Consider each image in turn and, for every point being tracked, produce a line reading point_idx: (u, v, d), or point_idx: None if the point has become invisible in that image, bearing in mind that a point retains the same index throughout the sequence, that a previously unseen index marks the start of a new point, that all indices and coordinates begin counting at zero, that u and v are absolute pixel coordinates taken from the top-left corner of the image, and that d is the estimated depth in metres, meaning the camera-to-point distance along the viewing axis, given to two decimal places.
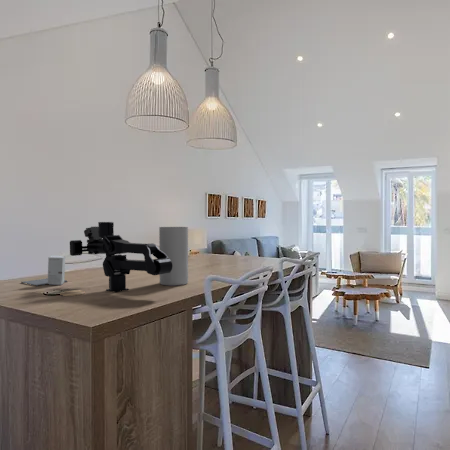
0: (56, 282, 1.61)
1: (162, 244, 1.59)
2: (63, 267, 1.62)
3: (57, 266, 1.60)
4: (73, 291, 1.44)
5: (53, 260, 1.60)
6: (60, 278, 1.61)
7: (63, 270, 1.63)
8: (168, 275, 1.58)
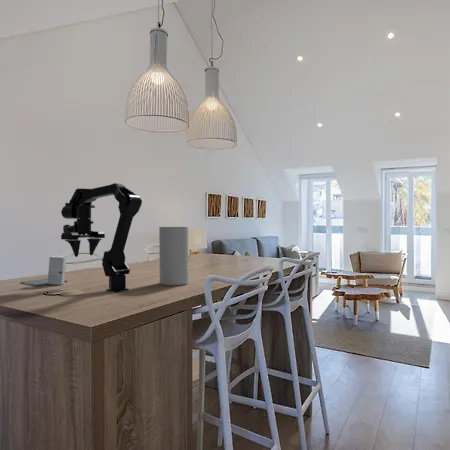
0: (56, 282, 1.61)
1: (162, 244, 1.59)
2: (64, 267, 1.63)
3: (57, 266, 1.61)
4: (73, 291, 1.44)
5: (54, 259, 1.60)
6: (60, 278, 1.61)
7: (63, 270, 1.63)
8: (168, 275, 1.58)
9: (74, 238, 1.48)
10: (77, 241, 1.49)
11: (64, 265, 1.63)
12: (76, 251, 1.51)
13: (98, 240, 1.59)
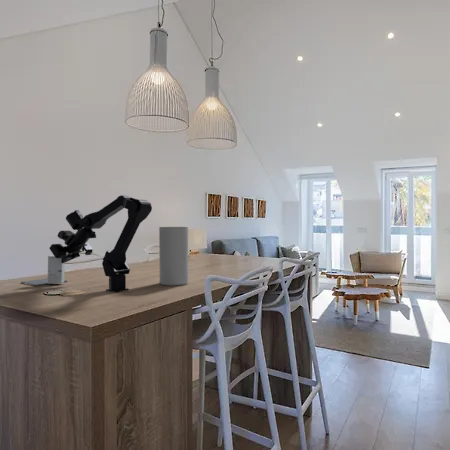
0: (56, 281, 1.61)
1: (162, 244, 1.59)
2: (63, 266, 1.63)
3: (56, 264, 1.61)
4: (73, 291, 1.44)
5: (52, 258, 1.61)
6: (60, 276, 1.61)
7: (63, 269, 1.63)
8: (168, 275, 1.58)
9: (60, 257, 1.51)
10: (69, 257, 1.56)
11: (63, 264, 1.63)
12: (64, 260, 1.59)
13: (76, 257, 1.60)
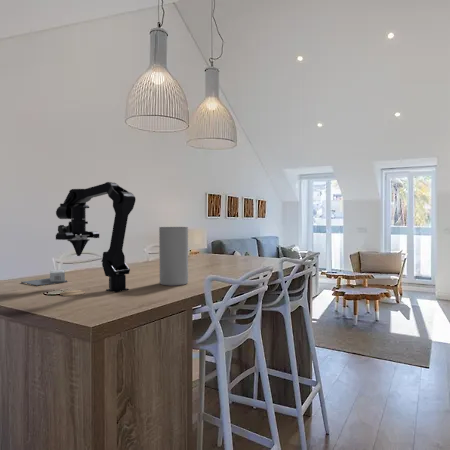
0: (59, 272, 1.67)
1: (162, 244, 1.59)
2: None
3: (59, 270, 1.73)
4: (73, 291, 1.44)
5: (54, 270, 1.75)
6: (63, 271, 1.70)
7: None
8: (168, 275, 1.58)
9: (68, 238, 1.49)
10: (79, 241, 1.54)
11: None
12: (78, 250, 1.56)
13: (86, 240, 1.57)
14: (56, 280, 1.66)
